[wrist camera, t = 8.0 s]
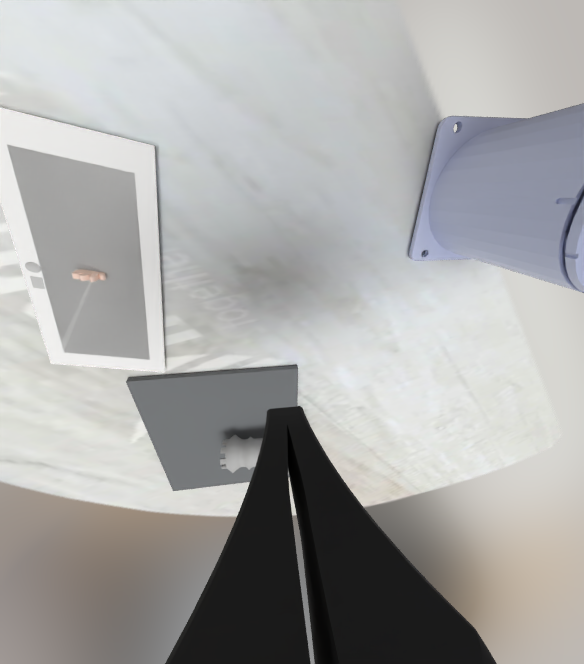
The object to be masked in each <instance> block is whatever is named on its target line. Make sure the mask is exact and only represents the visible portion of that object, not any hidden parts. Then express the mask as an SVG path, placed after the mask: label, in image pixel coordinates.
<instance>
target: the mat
mask: <svg viewBox="0 0 584 664" xmlns="http://www.w3.org/2000/svg"><path fill="white" fill-rule="evenodd" d="M126 383H127V385H128V387H129V390H130V392H131V394H132V397H133V399H134V401H135V404H136V406H137V408H138V411H139V413H140V415H141V418H142V420H143V422H144V425H145V427H146V429H147V431H148V434H149V436H150V438H151V441H152V443H153V445H154V448H155V450H156V452H157V455H158V457H159V459H160V462H161V464H162V466H163V468H164V471H165V473H166V475H167V478H168V480H169V482H170V485H171V487H172V489H173V491H178V490H186V489H194V488H202V487H211V486H219V485H227V484H235V483H244V482H250V481H251V478H252V475H253V472H254V469H255V467H252V468H251V469H250V470H249V469H248V468H247V467H240V468H239V469H238V470H236V471H235V472H234V473H232V472H231V471H230V470H228V469H222V468H221V467H222V465H220V459H221V458H225V453H220V452H221V448H223V447H226V445H223V444H222V442H223V440H225V439H230V438H231V437H232V436H234V435H237V436H238V437H239V438H241V439H248V438H249V437H252V438H253V439H256V438H263V436H264V431H265V425H266V417H267V411H268V410H269V409H274V408H284V407H295V406H297V394H298V367H297V365H293V366H280V367H266V368H253V369H239V370H226V371H212V372H199V373H185V374H172V375H158V376H145V377H131V378H128V380H127V381H126ZM288 477H290V476H289V474H288Z"/></svg>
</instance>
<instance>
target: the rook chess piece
mask: <svg viewBox="0 0 584 664" xmlns="http://www.w3.org/2000/svg"><path fill="white" fill-rule="evenodd" d="M262 440H263V438H256V439H253V438H252V437H249V438H248V439H241V438H239V437H238V436H237V435H234V436H232V437H231V438H230V439H225V440H223V442H222V444H223V445H226V447H223V448H221V452H220V453H225V458H221V459H220V465H222V467H221V468H222V469H228V470H230V471H231V472H232V473H234V472H235V471H236V470H238V469H239V468H240V467H247V468H248V469H249V470H250V469H251V468H252V467H255V466H256V463H257V459H258V456H259V452H260V448H261V444H262ZM288 474H289V471H288Z"/></svg>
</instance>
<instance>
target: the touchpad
mask: <svg viewBox="0 0 584 664" xmlns="http://www.w3.org/2000/svg"><path fill="white" fill-rule="evenodd" d="M0 203H1V206H2V209H3V213H4V216H5V219H6V222H7V225H8V229H9V232H10V235H11V238H12V241H13V244H14V248H15V251H16V254H17V257H18V260H19V264H20V267H21V270H22V273H23V276H24V280H25V283H26V286H27V289H28V292H29V295H30V299H31V302H32V305H33V308H34V311H35V315H36V318H37V321H38V324H39V327H40V331H41V334H42V337H43V340H44V343H45V347H46V350H47V353H48V356H49V359H50V362H51V364H62V365H75V366H88V367H100V368H113V369H126V370H139V371H152V372H164V373H165V356H164V335H163V314H162V292H161V271H160V250H159V229H158V208H157V187H156V166H155V146H153V145H149V144H145V143H141V142H137V141H133V140H129V139H125V138H121V137H117V136H113V135H109V134H105V133H101V132H97V131H93V130H89V129H85V128H81V127H77V126H73V125H69V124H65V123H61V122H57V121H53V120H49V119H45V118H41V117H37V116H33V115H29V114H25V113H21V112H17V111H13V110H9V109H5V108H1V107H0Z"/></svg>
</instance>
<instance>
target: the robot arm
mask: <svg viewBox="0 0 584 664" xmlns="http://www.w3.org/2000/svg"><path fill="white" fill-rule="evenodd" d="M455 124H457V127H458V128H457V131H456V132H455V133H454V131H453V127H454V125H455ZM424 250H425V254H424V255H423V256H422V252H423V251H424ZM409 257H410V258H411V259H412V260H415V261H424V260H456V259H475V260H478V261H482V262H485V263H488V264H491V265H495V266H498V267H501V268H505V269H508V270H511V271H514V272H518V273H521V274H524V275H528V276H531V277H534V278H537V279H540V280H544V281H547V282H550V283H553V284H557V285H560V286H563V287H566V288H570V289H573V290H576V291H579V292H583V293H584V104H579V105H576V106H572V107H569V108H565V109H561V110H558V111H554V112H550V113H547V114H543V115H540V116H536V117H532V118H528V119H526V118H498V117H469V116H449V117H447V118H444V119H443V120H442V121H441V122H440V124H439V126H438V129H437V133H436V138H435V142H434V146H433V151H432V155H431V160H430V164H429V168H428V173H427V177H426V182H425V186H424V190H423V195H422V199H421V203H420V208H419V212H418V217H417V221H416V225H415V230H414V234H413V238H412V243H411V247H410V252H409ZM288 471H289V476H290V482H291V487H292V492H293V498H294V503H295V508H296V514H297V519H298V524H299V530H300V536H301V542H302V550H303V559H304V568H305V577H306V585H307V595H308V603H309V613H310V622H311V631H312V640H313V649H314V659H315V664H496V662H495V660H494V658H493V657H492V655H491V653H490V652H489V650H488V648H487V647H486V645H485V644H484V642H483V641H482V639H481V637H480V636H479V634H478V633H477V631H476V630H475V628H474V627H473V626H472V625H471V624H470V623H469V622H468V621H467V620H466V619H465V618H464V617H463V616H462V615H461V614H460V613H459V612H458V611H457V610H456V609H455V608H454V607H453V606H452V605H451V604H450V603H449V602H448V601H447V600H446V599H445V598H444V597H443V596H442V595H441V594H440V593H439V592H438V591H437V590H436V589H435V588H434V587H433V586H432V585H431V584H430V583H429V582H428V581H427V580H426V578H425V577H424V576H423V575H422V574H421V573H420V572H419V571H418V570H417V569H416V568H415V567H414V566H413V565H412V563H410V561H409V560H408V559H407V558H406V557H405V556H404V555H403V554H402V552H401V551H400V550H399V549H398V548H397V547H396V546H395V544H394V543H393V542H392V541H391V540H390V539H389V538H388V536H387V535H386V534H385V533H384V532H383V531H382V530H381V528H380V527H379V526H378V525H377V524H376V523H375V521H374V520H373V519H372V518H371V516H370V515H369V514H368V513H367V511H366V510H365V509H364V508H363V506H362V505H361V504H360V502H359V501H358V500H357V498H356V497H355V496H354V494H353V493H352V492H351V490H350V489H349V488H348V486H347V485H346V483H345V482H344V481H343V479H342V478H341V476H340V475H339V473H338V472H337V470H336V469H335V467H334V466H333V464H332V463H331V461H330V460H329V458H328V456H327V455H326V453H325V451H324V450H323V448H322V446H321V445H320V443H319V441H318V440H317V438H316V436H315V434H314V432H313V430H312V428H311V427H310V425H309V422H308V420H307V418H306V416H305V414H304V411H303V408H302V407H300V406H295V407H284V408H274V409H269V410H268V411H267V417H266V425H265V431H264V436H263V440H262V444H261V448H260V452H259V456H258V459H257V463H256V466H255V469H254V472H253V475H252V478H251V481H250V484H249V487H248V490H247V493H246V495H245V498H244V501H243V503H242V506H241V508H240V511H239V513H238V516H237V518H236V521H235V523H234V526H233V528H232V530H231V532H230V535H229V537H228V539H227V542H226V544H225V546H224V549H223V551H222V553H221V555H220V557H219V560H218V562H217V564H216V566H215V568H214V570H213V572H212V574H211V576H210V578H209V580H208V582H207V584H206V586H205V588H204V591H203V592H202V594H201V597H200V598H199V600H198V602H197V604H196V607H195V609H194V611H193V613H192V614H191V616H190V618H189V620H188V622H187V624H186V626H185V628H184V630H183V632H182V633H181V635H180V637H179V639H178V641H177V643H176V645H175V646H174V648H173V650H172V652H171V654H170V656H169V658H168V659H167V662H166V663H165V664H310V657H309V649H308V641H307V634H306V626H305V618H304V610H303V602H302V594H301V586H300V579H299V570H298V562H297V554H296V546H295V537H294V529H293V520H292V512H291V503H290V495H289V481H288Z"/></svg>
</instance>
